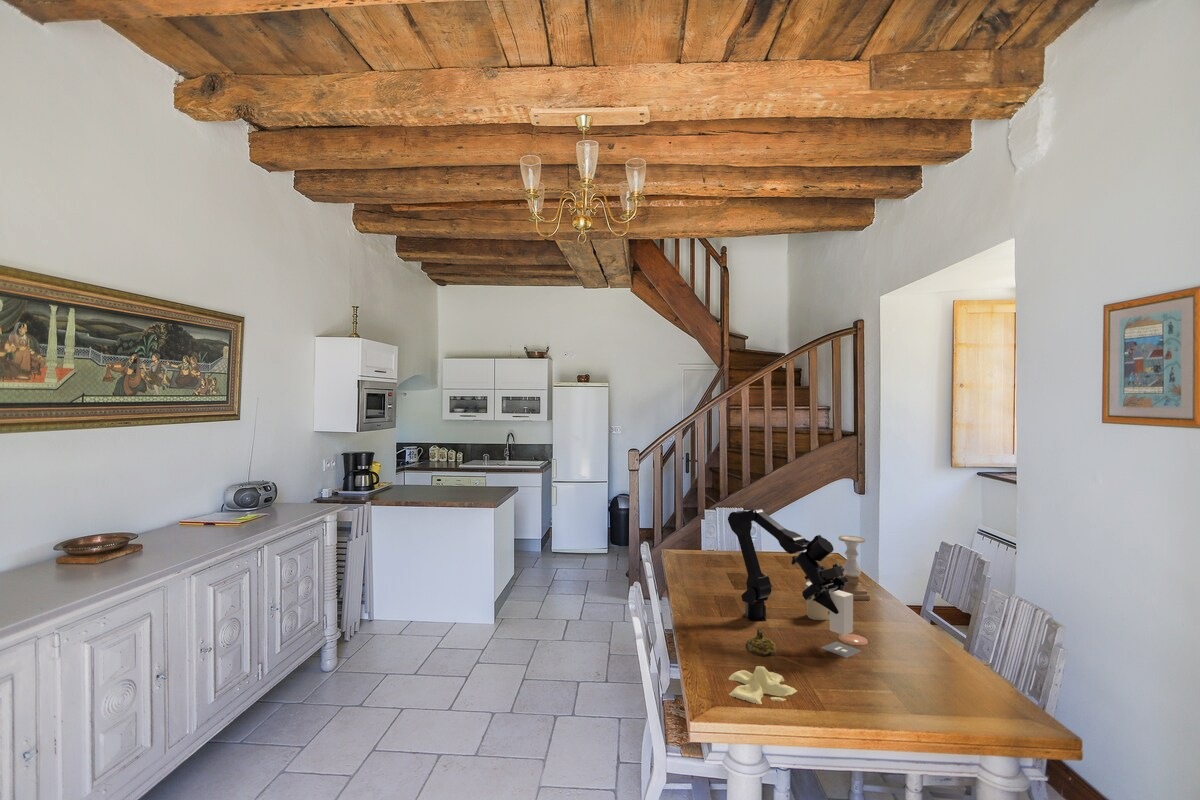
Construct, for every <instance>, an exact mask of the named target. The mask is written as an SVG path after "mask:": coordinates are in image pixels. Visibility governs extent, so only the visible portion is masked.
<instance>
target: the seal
mask: <svg viewBox="0 0 1200 800" xmlns="http://www.w3.org/2000/svg"><path fill="white" fill-rule="evenodd" d="M745 646H746V648H747V651H749V652H751V653H752V654H754V655H756V656H759V657H768V656H769V657H770V656H774V655H776V653H777V649H778V648H777V645H776V643H775V642H773V640H771V639H769V638H767V637H765V636H764V633H763V629H762V628H760V627H758V628H757V632H756V636H753V637H751V638H749V639H748V640H747V642H746V645H745Z"/></svg>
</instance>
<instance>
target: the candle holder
mask: <svg viewBox="0 0 1200 800" xmlns="http://www.w3.org/2000/svg"><path fill="white" fill-rule="evenodd" d="M838 540H839V541H841V542H842V543H844V545H845V546H846V550H845V552H844V554H845V556H846V558H847V559H846V561H845V562H844V564H843V565H842V567H843V568H844V572H843V574H844V577H846V578H847V580H848V581H849V582H848V583H847V584H846V585H845V587H844V588H843V591H844V592H847V593H851V594H853V601H870V600H871V595H870V593H868V591H867V589H865V588H864V587H862V585H860V584H859V582H860V578H859V576H860V575H861V573H862V568H861V567H860V565H859V564H858V561H857V557H858V556H859V552H858V551H857V547H858V546H859V545H860V544H863V543H865V542H866V539H865V538H863V537H861V536H855V535H839V536H838Z"/></svg>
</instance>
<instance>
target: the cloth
mask: <svg viewBox="0 0 1200 800" xmlns="http://www.w3.org/2000/svg"><path fill="white" fill-rule="evenodd" d="M729 680H730V681H736V682H739V683H742V684H741V685H738V686H736V687H735V688H734V689H732V691H731V692H730V693H728V696H729V695H730V696H729V697H733V698H735V697H736V699H739V700H743V701H745V700H746V702H748V703H749V702H750V703H752V704H755V703H756V705H762V704H763V702H762V698H763V697H764V694H766V695H771V697H770V698H769V699H770V700H771V701H773V702H776V701H777V702H784V701H786V700H787V699H786V698H783V697H786V696H790V695H793V694H795V693H797V692H798V690H797V689H796V688H794V687H792V686H789V685H787V684H780V683H783V682H785V678H784V677H783V675H781V674H779V673H776V672H773V671H768V669H767V668H766V667H765V666H761V665H759V666H758V665H757V666H755V669H754V670H753V673H751V672H750V671H747V670H745V669H741V670H739V671H735V672H734V673H732V674H731V675H730V676H729V677H728V681H729Z"/></svg>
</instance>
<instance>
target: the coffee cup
mask: <svg viewBox="0 0 1200 800" xmlns="http://www.w3.org/2000/svg"><path fill="white" fill-rule="evenodd" d="M811 584H812V583H811V582H810V581H807V582H806V583H805V584H804V587H805V589H806V588H807V587H809V586H810V585H811ZM829 594H830V592H829ZM814 598H815V597H814V595H813V596H812V599H810V600H807V601H806V600H805V602H806V615H807V618H808V619H811V620H814V621H830V610H829V609H827V608H826V607H824V606H823V605H821V604H819V603H817V602H816V601H813V599H814Z"/></svg>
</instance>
